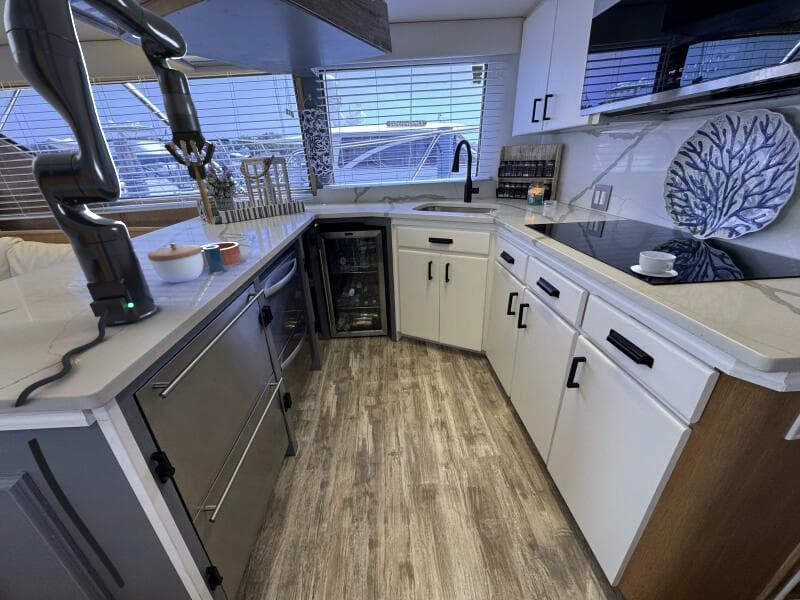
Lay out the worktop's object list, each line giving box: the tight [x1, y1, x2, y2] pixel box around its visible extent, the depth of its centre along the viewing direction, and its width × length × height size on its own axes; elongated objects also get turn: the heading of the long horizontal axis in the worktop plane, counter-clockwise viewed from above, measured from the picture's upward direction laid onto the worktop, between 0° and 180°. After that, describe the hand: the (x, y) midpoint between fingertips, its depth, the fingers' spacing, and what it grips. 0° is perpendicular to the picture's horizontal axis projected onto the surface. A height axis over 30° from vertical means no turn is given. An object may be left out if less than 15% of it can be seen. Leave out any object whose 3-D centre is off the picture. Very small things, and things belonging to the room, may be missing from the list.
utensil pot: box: [203, 245, 226, 273], centre depth 98 cm, size 4×4×8 cm
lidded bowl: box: [147, 242, 205, 284], centre depth 91 cm, size 13×13×11 cm
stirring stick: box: [191, 160, 215, 224], centre depth 99 cm, size 2×2×18 cm
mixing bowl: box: [200, 241, 243, 268], centre depth 107 cm, size 12×12×6 cm
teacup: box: [630, 251, 679, 278], centre depth 83 cm, size 10×10×5 cm
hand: (199, 179), depth 98 cm, fingers closed on stirring stick, 2 cm apart
